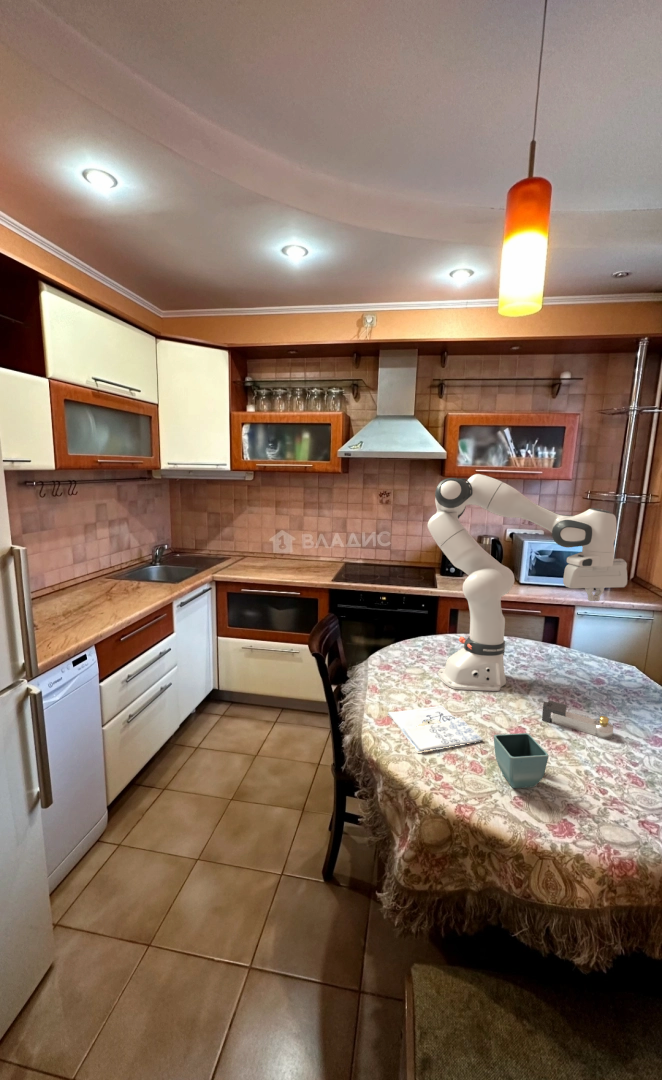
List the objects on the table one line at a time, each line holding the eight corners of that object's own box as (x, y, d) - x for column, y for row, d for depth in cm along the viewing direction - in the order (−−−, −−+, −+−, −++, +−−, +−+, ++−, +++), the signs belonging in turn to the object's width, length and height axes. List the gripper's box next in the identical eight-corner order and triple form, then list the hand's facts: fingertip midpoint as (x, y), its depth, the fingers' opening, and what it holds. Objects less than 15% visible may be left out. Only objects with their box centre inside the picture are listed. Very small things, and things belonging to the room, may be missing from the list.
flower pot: (490, 769, 104) (492, 734, 103) (525, 767, 105) (528, 732, 103) (508, 795, 95) (510, 757, 94) (546, 793, 96) (549, 755, 95)
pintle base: (620, 759, 108) (623, 736, 107) (536, 735, 118) (538, 714, 117) (619, 725, 123) (621, 704, 122) (544, 706, 133) (546, 687, 132)
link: (613, 733, 116) (614, 723, 116) (611, 741, 113) (612, 731, 112) (554, 716, 125) (554, 707, 124) (551, 723, 121) (552, 713, 121)
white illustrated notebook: (417, 757, 109) (418, 749, 109) (386, 715, 128) (386, 708, 128) (484, 745, 114) (484, 737, 114) (444, 706, 134) (444, 699, 133)
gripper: (619, 556, 145) (615, 597, 147) (562, 557, 143) (558, 598, 145) (634, 560, 139) (630, 602, 141) (574, 561, 136) (571, 604, 138)
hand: (593, 600), depth 143 cm, fingers closed
